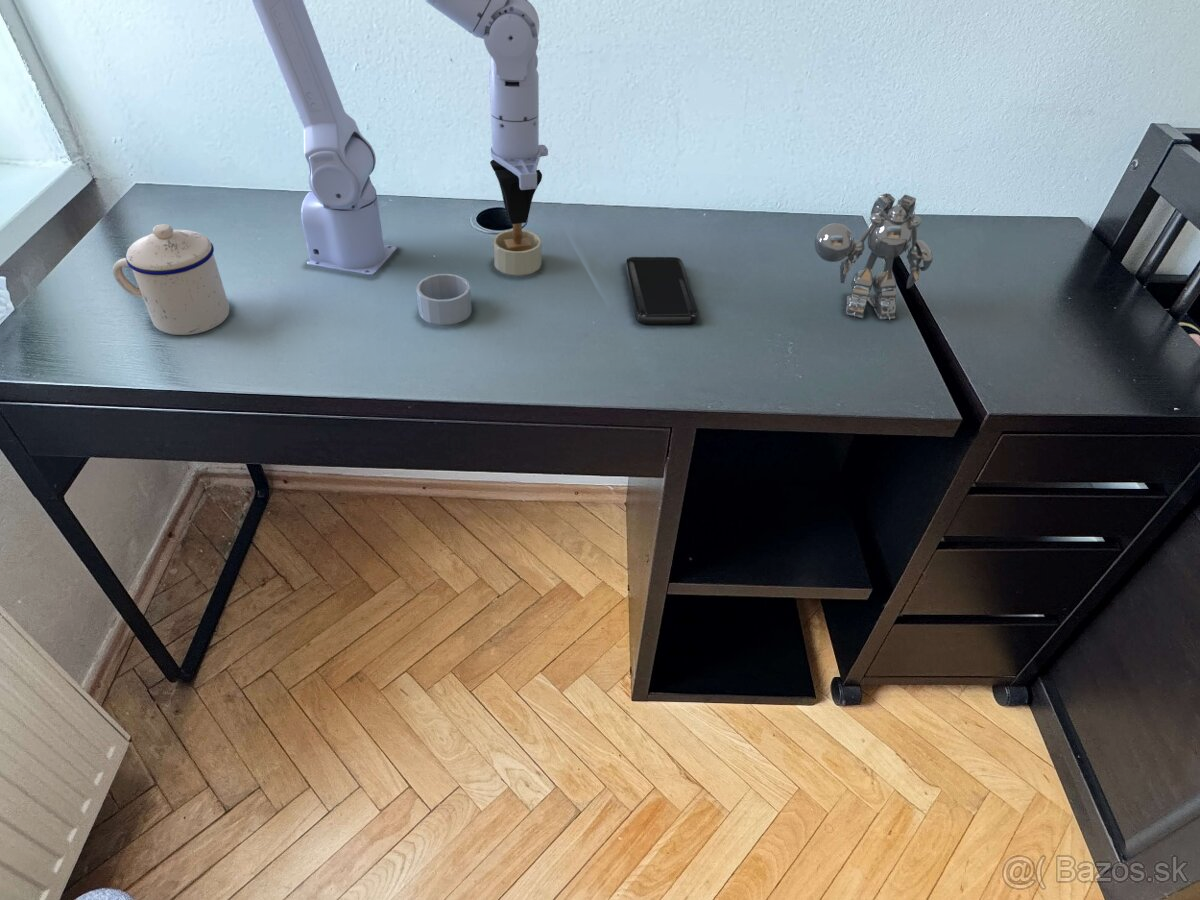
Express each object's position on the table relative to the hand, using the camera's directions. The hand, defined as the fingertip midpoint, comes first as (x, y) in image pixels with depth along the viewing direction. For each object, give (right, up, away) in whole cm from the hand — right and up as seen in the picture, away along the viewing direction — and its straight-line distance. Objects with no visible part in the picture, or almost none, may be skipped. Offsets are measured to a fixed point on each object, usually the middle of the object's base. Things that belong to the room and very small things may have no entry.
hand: (517, 219), depth 105 cm
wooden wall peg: (0, -3, +3) cm, 4 cm away
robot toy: (+45, -11, +1) cm, 46 cm away
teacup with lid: (-40, -14, -8) cm, 43 cm away
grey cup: (-8, -13, -5) cm, 16 cm away
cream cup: (0, -5, +5) cm, 7 cm away
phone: (+19, -10, +1) cm, 21 cm away
